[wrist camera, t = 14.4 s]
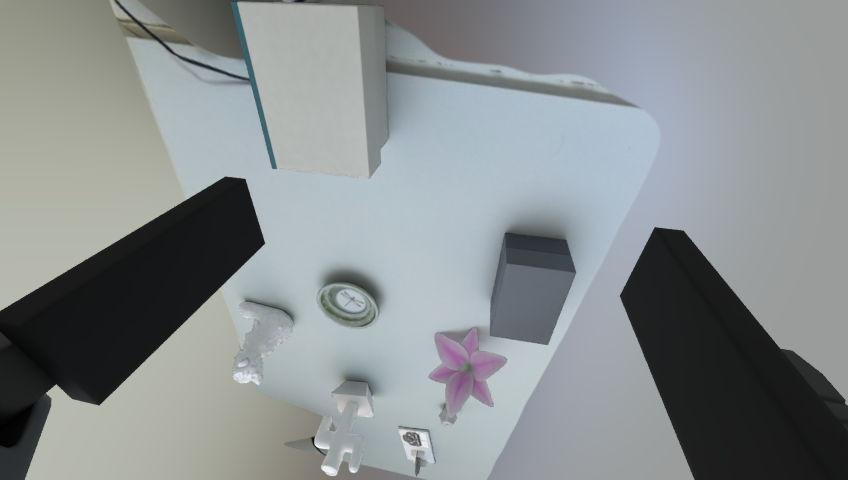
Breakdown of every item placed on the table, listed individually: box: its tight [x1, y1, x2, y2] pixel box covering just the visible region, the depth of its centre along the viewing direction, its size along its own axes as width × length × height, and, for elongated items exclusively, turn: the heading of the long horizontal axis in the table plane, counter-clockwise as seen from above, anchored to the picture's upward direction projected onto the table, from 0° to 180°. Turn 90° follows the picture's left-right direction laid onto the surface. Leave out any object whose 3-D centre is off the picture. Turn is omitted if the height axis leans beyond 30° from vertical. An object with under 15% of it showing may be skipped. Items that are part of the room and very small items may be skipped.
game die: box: [439, 406, 457, 427], centre depth 64 cm, size 4×4×3 cm
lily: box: [429, 327, 507, 418], centre depth 51 cm, size 12×12×10 cm
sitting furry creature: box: [232, 301, 294, 385], centre depth 53 cm, size 10×9×12 cm
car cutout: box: [398, 427, 435, 476], centre depth 75 cm, size 15×7×4 cm, turn 7°
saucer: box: [317, 282, 379, 329], centre depth 51 cm, size 10×10×2 cm
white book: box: [231, 1, 381, 179], centre depth 27 cm, size 12×9×4 cm
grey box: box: [490, 233, 576, 345], centre depth 41 cm, size 12×7×6 cm, turn 178°
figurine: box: [315, 381, 375, 476], centre depth 61 cm, size 7×9×15 cm
